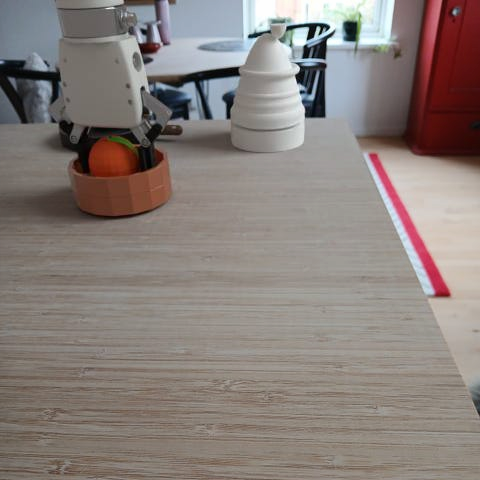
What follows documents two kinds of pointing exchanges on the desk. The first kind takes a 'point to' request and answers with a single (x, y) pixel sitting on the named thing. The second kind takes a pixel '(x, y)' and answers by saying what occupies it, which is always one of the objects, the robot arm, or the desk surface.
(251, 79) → the honey pot
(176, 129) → the pan
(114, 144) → the clementine
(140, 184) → the bowl
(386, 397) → the desk surface
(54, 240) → the desk surface
